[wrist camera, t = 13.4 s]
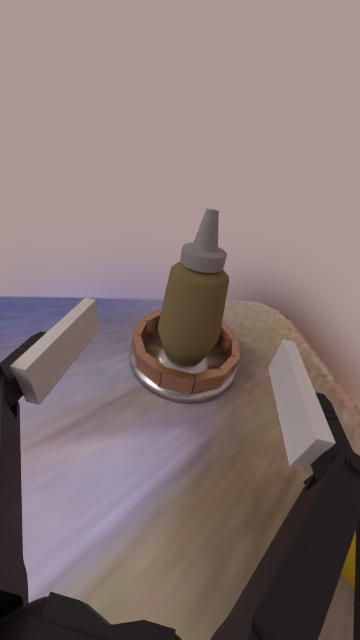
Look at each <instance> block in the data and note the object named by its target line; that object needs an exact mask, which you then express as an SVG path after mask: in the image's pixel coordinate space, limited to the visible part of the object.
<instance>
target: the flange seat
mask: <svg viewBox="0 0 360 640" xmlns="http://www.w3.org/2000/svg"><path fill="white" fill-rule="evenodd" d="M161 311H162V309H161V310H158V311H156V312H154V313H152V314H150V315H148V316H146V317H144V318H142V319H141V320H140V322H139V324H138V325H137V327H136V329H135V331H134V332H133V334H132V343H131V347H130V364H131V368H132V371H133V373H134V375H135V377H136V378H137V380H138V381H139V382H140V383H141V384H142V385H143V386H144V387H145V388H146V389H147V390H149V391H150V392H152V393H153V394H155V395H157V396H159V397H161V398H164V399H166V400H170V401H173V402H178V403H189V404H191V403H201V402H206V401H209V400H212V399H214V398H216V397H218V396H220V395H221V394H223V393H224V392H225V391H226V390H227V389H228V388H229V387H230V385H231V384H232V382H233V380H234V377H235V375H236V372H237V368H238V362H239V359H240V350H239V340H238V338H237V337H236V336H235V334H234V333H233V332H232V331H231V330H230V328H229V327H228V326H227V325H226V324H225V323H224V322H222V324H221V329H220V335H219V340H218V342H217V343H216V345H215V346H214V347H213V348H212V350H211V351H210V352H209V353H208V354H207V355H206V357H205V358H204V359H203V360H202V361H201V362H199V363H197V364H195V365H188V366H185V365H180V364H177V363H175V362H173V361H171V360H170V359H169V358H168V357H167V356H166V355H165V352H164V349H163V345H162V342H161V339H160V336H159V332H158V324H159V320H160V315H161Z"/></svg>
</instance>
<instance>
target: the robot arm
mask: <svg viewBox="0 0 360 640" xmlns="http://www.w3.org/2000/svg"><path fill="white" fill-rule="evenodd" d="M98 331H99V328H98V319H97V309H96V300H94V299H89V298H84V299H83V300H82V301H81V302H80V303H79V304H78V305H77V306H76V307H74V308H73V309H72V310H71V311H70V312H69V313H68V314H67V315H66V316H64V317H63V318H62V319H61V320H60V321H59V322H58V323H57V324H56V325H55V326H53V327H52V328H51V329H50V330H49V331H48V332H47V333H45V332H39V333H37V334H35V335H33V336H31V337H30V338H29V339H28V340H27V341H25V343H23V344H22V345H21V346H20V347H19V348H17V349H16V350H15V351H14V352H13V353H11V354H10V355H9V356H8V357H7V358H6V359H4V360H3V361H2V362H1V363H0V640H182V639H181V638H180V637H179V636H177V635H176V634H175V630H176V629H172V628H169V627H166V626H162V625H159V624H156V623H152V622H149V621H146V620H140V621H134V622H127V623H120V624H114V625H112V624H110V623H109V622H108V621H106V620H105V619H104V618H103V617H102V616H101V615H100V614H99V613H97V612H96V611H95V610H94V609H93V608H92V607H91V606H90V605H88V604H86V603H84V602H82V601H80V600H76V599H73V598H70V597H66V596H63V595H60V594H56V593H53V592H50V594H49V596H47V597H43V598H40V599H37V600H34V601H32V602H30V603H28V581H27V573H26V568H25V565H24V561H23V543H22V497H21V452H20V407H19V402H18V400H19V399H20V398H21V397H22V396H24V398H25V400H26V402H30V403H34V404H38V405H40V404H41V403H42V401H43V400H44V399H45V398H46V396H47V395H48V394H49V392H50V391H51V390H52V389H53V387H54V386H55V385H56V384H57V382H58V381H59V380H60V379H61V377H62V376H63V375H64V374H65V372H66V371H67V370H68V369H69V367H70V366H71V365H72V363H73V362H74V361H75V360H76V358H77V357H78V356H79V355H80V353H81V352H82V351H83V350H84V348H85V347H86V346H87V345H88V343H89V342H90V341H91V339H92V338H93V337H94V336H95V334H96V333H97V332H98ZM268 369H269V374H270V379H271V383H272V388H273V393H274V397H275V402H276V406H277V411H278V416H279V420H280V425H281V430H282V434H283V439H284V444H285V448H286V453H287V458H288V462H289V466H290V467H294V468H298V469H302V470H306V469H307V468H308V467H309V466H310V465H311V466H312V470H313V473H314V474H313V475H311V476H310V477H309V478H308V479H306V480H305V481H304V482H303V483H304V484H306V485H305V487H304V488H303V490H302V492H301V493H300V495H299V497H298V498H297V500H296V502H295V504H294V505H293V507H292V509H291V510H290V512H289V514H288V515H287V517H286V519H285V521H284V522H283V524H282V526H281V527H280V529H279V531H278V532H277V534H276V536H275V538H274V539H273V541H272V543H271V544H270V546H269V548H268V549H267V551H266V553H265V554H264V556H263V558H262V560H261V561H260V563H259V565H258V566H257V568H256V570H255V571H254V573H253V575H252V577H251V578H250V580H249V582H248V583H247V585H246V587H245V588H244V590H243V592H242V594H241V595H240V597H239V599H238V600H237V602H236V604H235V605H234V607H233V609H232V611H231V612H230V614H229V615H228V617H227V618H226V620H225V621H224V622H223V623H222V625H221V626H220V627H219V628H218V629H217V630H216V632H215V633H214V635H213V636H212V638H211V639H210V640H318V638H319V635H320V632H321V629H322V626H323V624H324V621H325V618H326V615H327V612H328V609H329V606H330V603H331V601H332V598H333V595H334V592H335V589H336V586H337V583H338V580H339V578H340V575H341V572H342V569H343V566H344V563H345V560H346V557H347V555H348V552H349V549H350V546H351V543H352V540H353V537H354V534H355V532H356V554H355V596H354V638H353V640H360V456H359V455H358V454H356V453H354V452H353V450H352V448H351V446H350V444H349V441H348V439H347V437H346V435H345V433H344V430H343V428H342V426H341V424H340V422H339V419H338V417H337V415H336V414H335V410H334V408H333V406H332V404H331V402H330V401H329V400H328V399H327V398H326V396H325V395H324V394H320V393H316V392H315V391H314V388H313V386H312V383H311V381H310V378H309V376H308V373H307V371H306V368H305V366H304V363H303V361H302V358H301V356H300V353H299V351H298V348H297V346H296V343H295V342H293V341H288V340H284V339H283V341H282V343H281V345H280V346H279V348H278V350H277V352H276V354H275V356H274V358H273V359H272V361H271V363H270V365H269V367H268Z"/></svg>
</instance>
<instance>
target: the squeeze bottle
mask: <svg viewBox="0 0 360 640" xmlns="http://www.w3.org/2000/svg"><path fill="white" fill-rule="evenodd" d="M218 214H219V211H217V210H212V209H206V212H205V214H204V217H203V219H202V222H201V225H200V227H199V230H198V232H197V235H196V238H195V240H194V243H187V244H185V245H183V247H182V252H181V260H180V261H181V262H179V263H177V264H175V265H173V266H172V268H171V270H170V275H169V279H168V284H167V289H166V293H165V297H164V302H163V306H162V311H161V315H160V320H159V324H158V332H159V336H160V339H161V342H162V345H163V349H164V352H165V355H166V356H167V357H168V358H169V359H170V360H171V361H173V362H175V363H177V364H180V365H185V366H188V365H195V364H197V363H199V362H201V361H202V360H203V359H204V358H205V357H206V355H207V354H208V353H209V352H210V351H211V350H212V348H213V347H214V346H215V345H216V343H217V342H218V340H219V335H220V329H221V324H222V318H223V312H224V307H225V301H226V295H227V289H228V283H229V277H228V275H227V274H226V273H225V271H224V270H223V267H224V264H225V260H226V256H227V254H226V252H225V251H224V250H223V249H221V248H219V247H218Z"/></svg>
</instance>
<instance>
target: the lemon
mask: <svg viewBox="0 0 360 640" xmlns="http://www.w3.org/2000/svg"><path fill="white" fill-rule="evenodd" d="M355 554H356V532H355V534H354V537H353V540H352V543H351V546H350V549H349V552H348V555H347V557H346V560H345V563H344V566H343V569H342V572H341V576H342V577H343V578H344V580H345V581H346V582H347V583H348V584H349V585H350V586H351V587H352V588H353V589H354V590H355Z"/></svg>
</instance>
